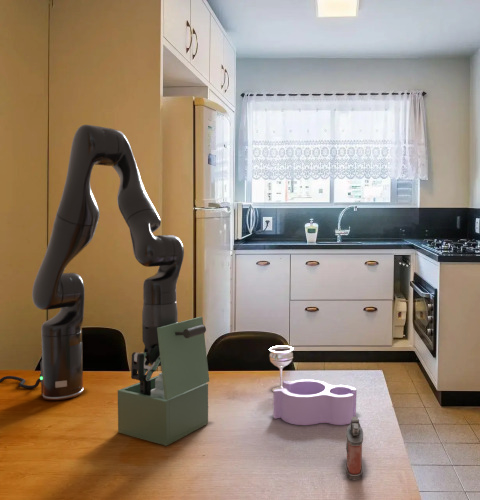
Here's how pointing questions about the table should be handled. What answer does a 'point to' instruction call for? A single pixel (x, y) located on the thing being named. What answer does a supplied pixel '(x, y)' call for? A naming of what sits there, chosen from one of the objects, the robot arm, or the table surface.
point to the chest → (161, 413)
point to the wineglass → (280, 358)
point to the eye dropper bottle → (158, 388)
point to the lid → (183, 356)
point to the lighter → (354, 449)
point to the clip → (314, 402)
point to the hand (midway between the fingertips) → (160, 389)
